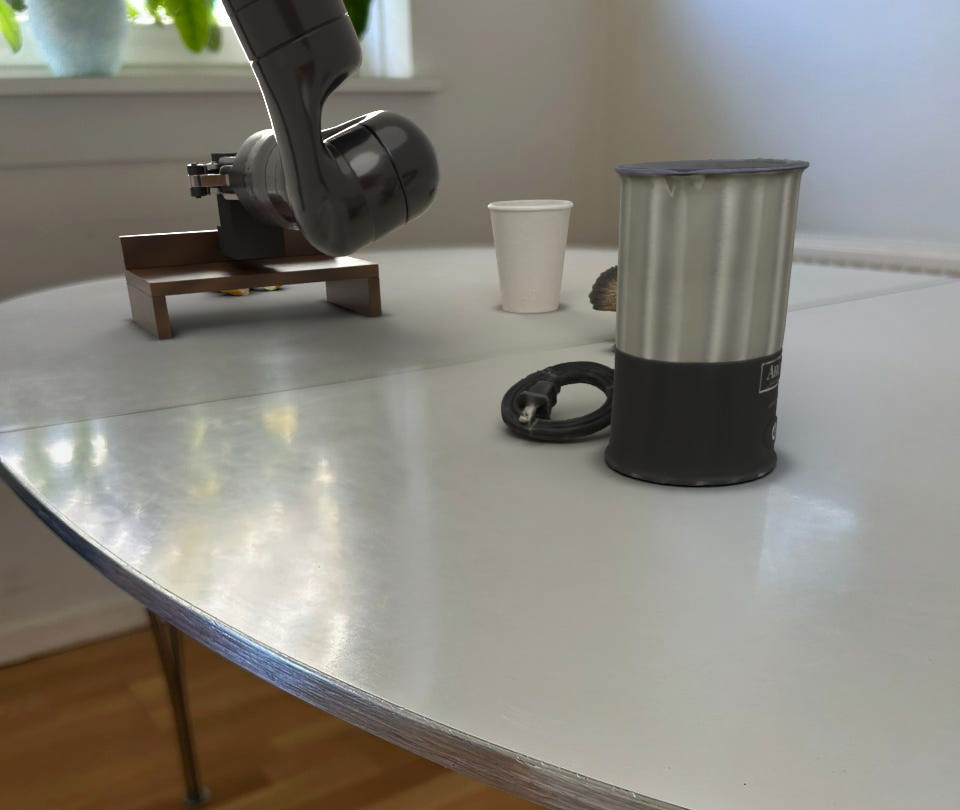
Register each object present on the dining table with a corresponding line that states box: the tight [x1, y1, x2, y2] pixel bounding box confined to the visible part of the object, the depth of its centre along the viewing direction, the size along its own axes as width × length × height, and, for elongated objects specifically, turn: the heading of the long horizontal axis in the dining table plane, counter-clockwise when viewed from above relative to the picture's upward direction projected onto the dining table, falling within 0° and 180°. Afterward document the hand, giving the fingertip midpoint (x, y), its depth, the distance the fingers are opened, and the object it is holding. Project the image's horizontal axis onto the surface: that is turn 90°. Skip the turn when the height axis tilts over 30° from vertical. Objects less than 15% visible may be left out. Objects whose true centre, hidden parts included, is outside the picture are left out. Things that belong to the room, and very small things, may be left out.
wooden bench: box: [118, 228, 383, 341], centre depth 99 cm, size 22×13×8 cm, turn 117°
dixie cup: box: [487, 199, 574, 314], centre depth 99 cm, size 8×8×10 cm
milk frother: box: [500, 157, 811, 487], centre depth 53 cm, size 14×16×15 cm
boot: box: [210, 151, 286, 260], centre depth 96 cm, size 9×5×9 cm, turn 27°
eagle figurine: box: [587, 264, 618, 353], centre depth 82 cm, size 8×7×9 cm
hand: (238, 175), depth 95 cm, fingers closed on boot, 4 cm apart
